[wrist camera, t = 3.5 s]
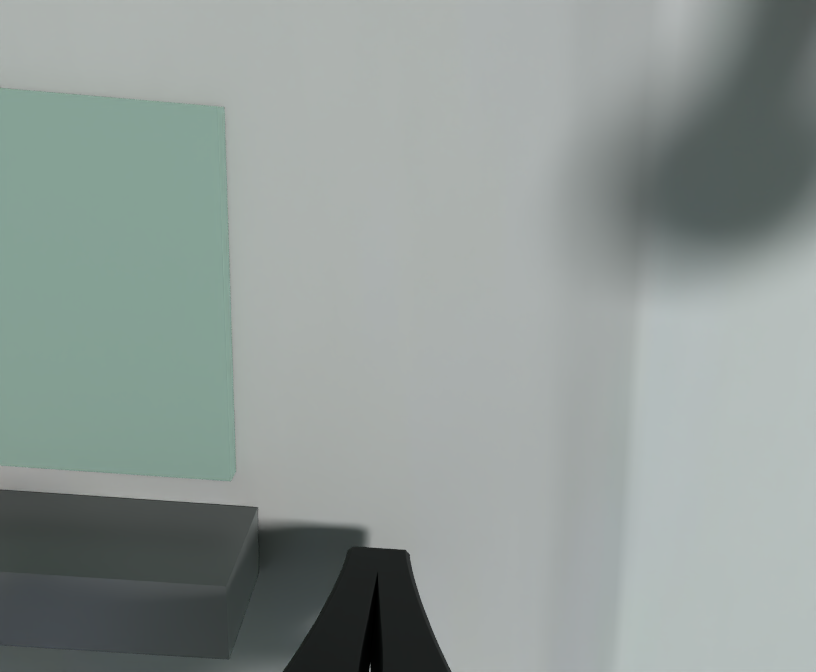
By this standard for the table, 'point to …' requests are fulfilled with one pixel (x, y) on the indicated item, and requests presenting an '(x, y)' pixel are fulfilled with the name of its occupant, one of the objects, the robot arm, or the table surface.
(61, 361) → the mat
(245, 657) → the table surface
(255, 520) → the plug
